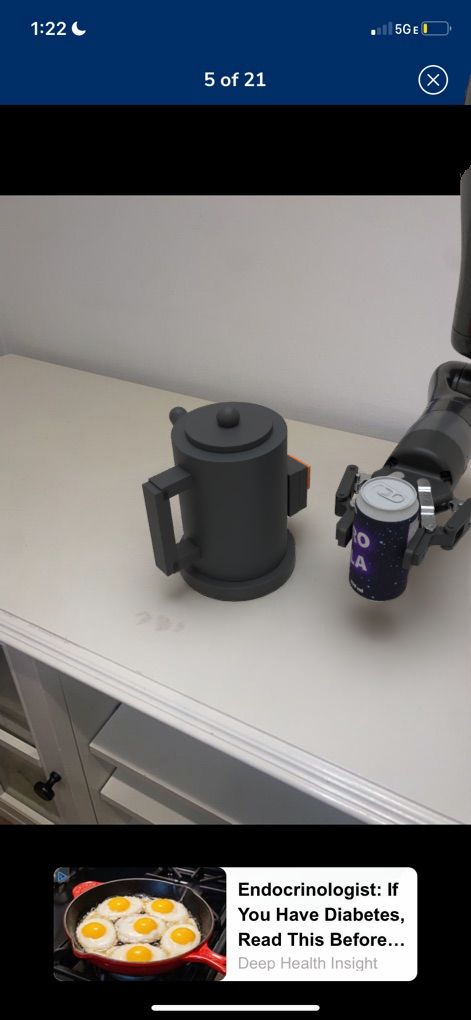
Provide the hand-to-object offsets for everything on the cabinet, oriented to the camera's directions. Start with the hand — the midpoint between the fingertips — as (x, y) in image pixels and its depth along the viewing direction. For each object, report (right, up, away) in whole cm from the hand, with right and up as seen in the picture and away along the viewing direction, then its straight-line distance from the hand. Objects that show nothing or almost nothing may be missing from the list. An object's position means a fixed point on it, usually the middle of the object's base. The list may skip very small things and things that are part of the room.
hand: (373, 550), depth 57 cm
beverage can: (+2, -4, +6) cm, 8 cm away
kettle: (-14, -2, +19) cm, 24 cm away
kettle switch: (-5, +7, +19) cm, 21 cm away
